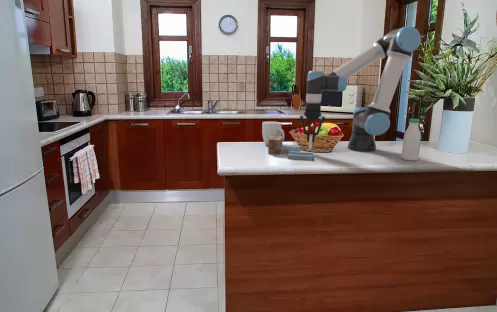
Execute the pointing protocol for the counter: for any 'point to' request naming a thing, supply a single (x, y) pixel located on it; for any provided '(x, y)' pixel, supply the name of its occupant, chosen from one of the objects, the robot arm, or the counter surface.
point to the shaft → (289, 148)
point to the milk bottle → (411, 141)
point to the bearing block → (274, 144)
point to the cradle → (300, 155)
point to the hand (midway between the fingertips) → (310, 148)
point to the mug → (271, 130)
